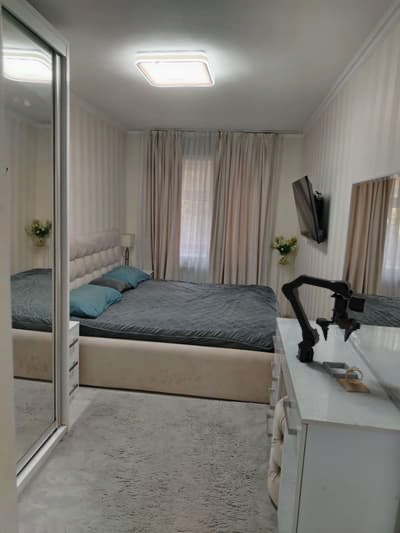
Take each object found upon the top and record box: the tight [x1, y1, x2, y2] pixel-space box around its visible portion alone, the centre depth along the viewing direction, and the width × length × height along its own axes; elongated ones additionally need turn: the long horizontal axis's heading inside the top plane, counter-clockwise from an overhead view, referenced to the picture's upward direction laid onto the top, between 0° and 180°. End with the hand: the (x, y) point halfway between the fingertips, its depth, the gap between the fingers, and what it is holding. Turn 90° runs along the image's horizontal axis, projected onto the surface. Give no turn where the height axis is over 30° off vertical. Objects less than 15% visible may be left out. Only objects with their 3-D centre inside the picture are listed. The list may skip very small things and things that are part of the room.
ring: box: [345, 365, 364, 385], centre depth 153 cm, size 7×3×8 cm, turn 73°
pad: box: [335, 378, 372, 394], centre depth 153 cm, size 10×10×1 cm
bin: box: [322, 361, 359, 380], centre depth 166 cm, size 11×13×2 cm
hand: (335, 341), depth 168 cm, fingers open, 9 cm apart
